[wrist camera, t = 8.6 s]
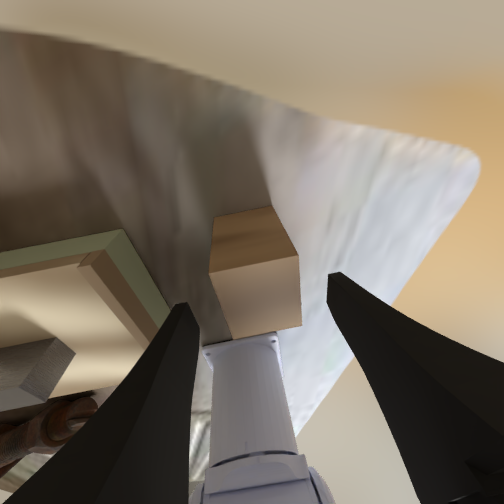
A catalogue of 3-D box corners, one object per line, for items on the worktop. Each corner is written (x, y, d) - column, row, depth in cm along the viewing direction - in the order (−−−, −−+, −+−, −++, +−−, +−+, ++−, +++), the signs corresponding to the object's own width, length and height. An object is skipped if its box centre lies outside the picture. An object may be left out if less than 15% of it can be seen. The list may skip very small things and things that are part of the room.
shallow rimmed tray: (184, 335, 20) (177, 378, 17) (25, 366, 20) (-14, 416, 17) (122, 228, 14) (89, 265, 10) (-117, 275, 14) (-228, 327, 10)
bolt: (107, 378, 26) (23, 418, 29) (62, 387, 22) (-33, 433, 24) (108, 434, 24) (16, 473, 26) (58, 456, 19) (-49, 501, 21)
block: (278, 263, 17) (302, 325, 12) (230, 273, 17) (233, 339, 12) (272, 205, 14) (298, 255, 9) (214, 217, 14) (208, 273, 9)
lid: (171, 362, 18) (159, 417, 15) (10, 394, 18) (-38, 457, 15) (90, 252, 11) (35, 307, 8) (-166, 302, 11) (-326, 378, 8)
